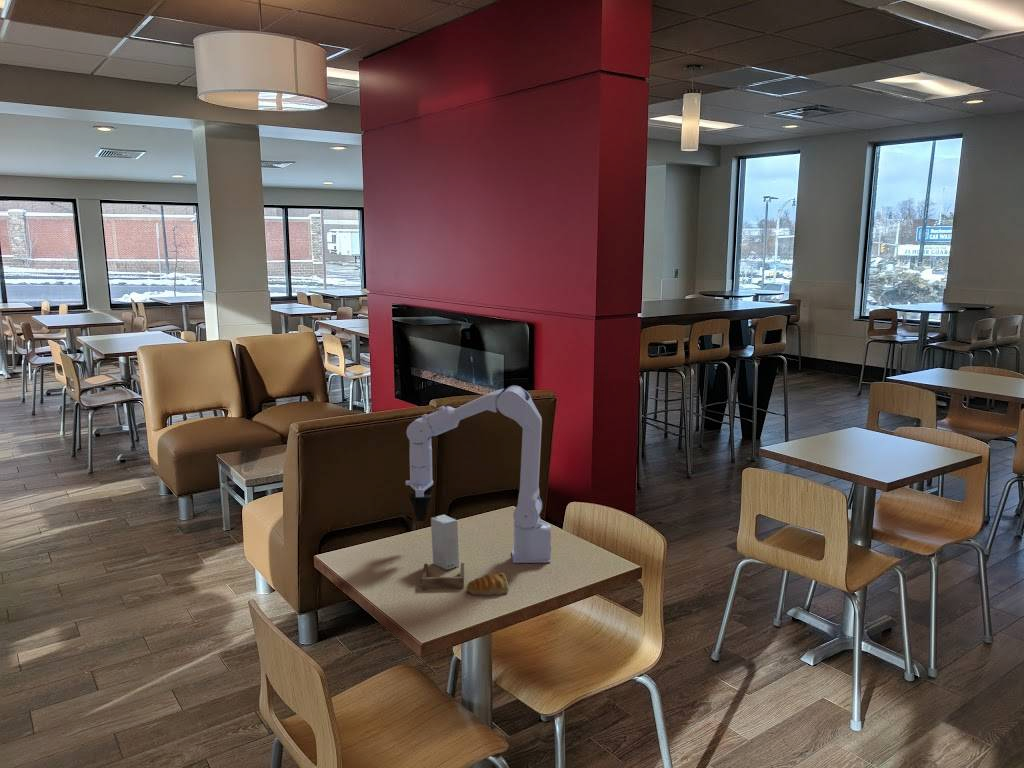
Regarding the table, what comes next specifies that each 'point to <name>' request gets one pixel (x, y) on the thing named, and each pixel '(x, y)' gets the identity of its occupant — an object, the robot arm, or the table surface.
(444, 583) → the bottle holder
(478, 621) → the table surface
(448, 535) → the skincare box
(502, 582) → the pastry
